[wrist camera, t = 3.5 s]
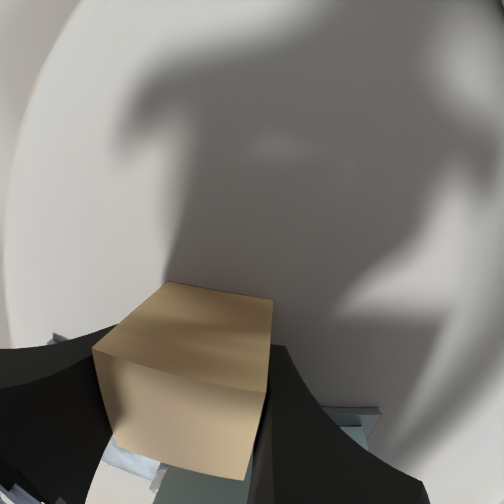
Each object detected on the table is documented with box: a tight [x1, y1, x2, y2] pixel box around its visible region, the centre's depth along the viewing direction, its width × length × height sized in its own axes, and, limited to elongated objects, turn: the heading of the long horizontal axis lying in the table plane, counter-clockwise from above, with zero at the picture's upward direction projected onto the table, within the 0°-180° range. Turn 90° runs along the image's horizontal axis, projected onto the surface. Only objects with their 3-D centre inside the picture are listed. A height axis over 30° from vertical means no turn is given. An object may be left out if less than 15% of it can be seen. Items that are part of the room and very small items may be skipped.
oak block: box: [92, 282, 273, 481], centre depth 8 cm, size 4×4×5 cm
